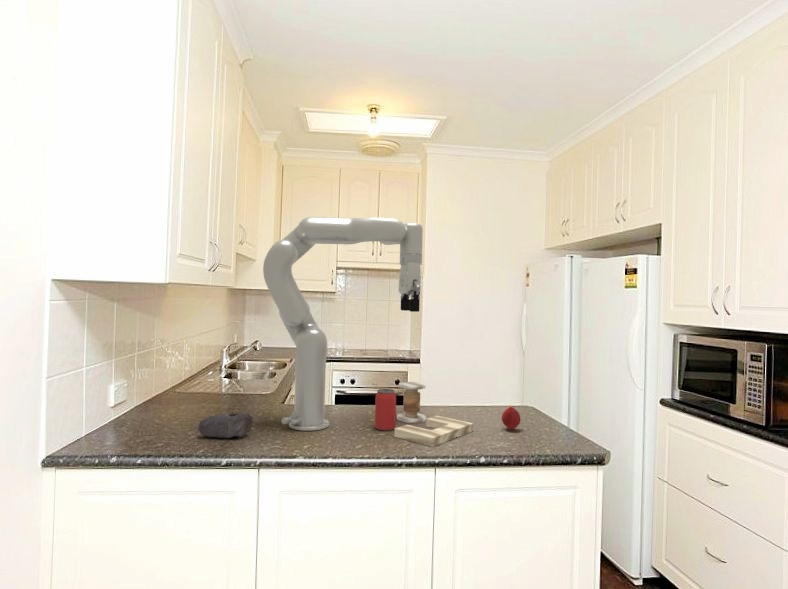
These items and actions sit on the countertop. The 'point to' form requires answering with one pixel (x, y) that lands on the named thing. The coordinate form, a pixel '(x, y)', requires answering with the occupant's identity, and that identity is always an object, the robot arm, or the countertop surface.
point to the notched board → (434, 431)
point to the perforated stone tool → (226, 425)
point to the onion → (511, 418)
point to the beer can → (385, 409)
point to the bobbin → (411, 403)
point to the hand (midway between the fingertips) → (409, 310)
